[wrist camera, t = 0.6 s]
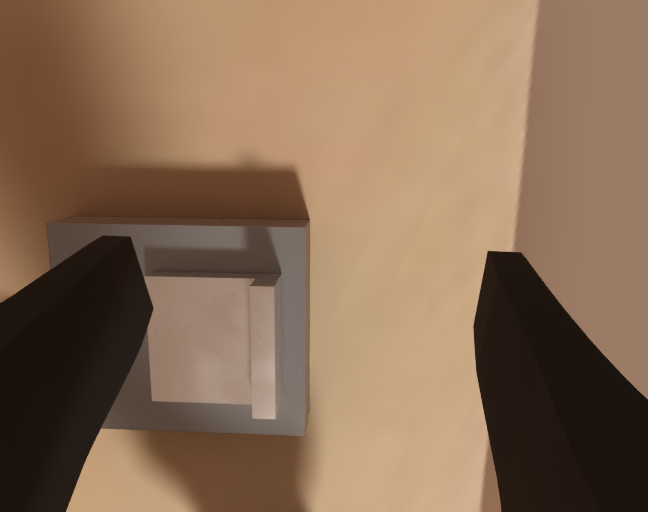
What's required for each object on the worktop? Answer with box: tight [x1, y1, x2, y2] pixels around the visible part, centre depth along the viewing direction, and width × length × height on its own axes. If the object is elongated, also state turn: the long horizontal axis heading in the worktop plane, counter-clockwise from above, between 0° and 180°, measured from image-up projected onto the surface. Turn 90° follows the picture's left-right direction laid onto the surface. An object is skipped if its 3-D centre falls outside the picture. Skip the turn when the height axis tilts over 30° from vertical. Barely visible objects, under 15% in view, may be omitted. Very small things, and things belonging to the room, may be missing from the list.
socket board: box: [46, 216, 310, 436], centre depth 31 cm, size 12×14×3 cm
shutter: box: [144, 271, 283, 419], centre depth 28 cm, size 7×7×3 cm
